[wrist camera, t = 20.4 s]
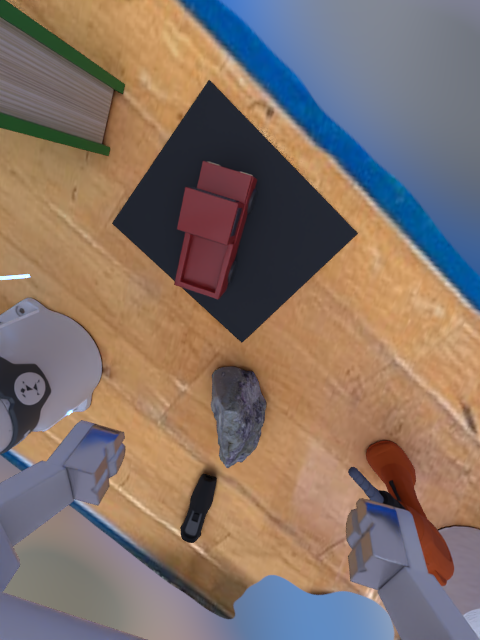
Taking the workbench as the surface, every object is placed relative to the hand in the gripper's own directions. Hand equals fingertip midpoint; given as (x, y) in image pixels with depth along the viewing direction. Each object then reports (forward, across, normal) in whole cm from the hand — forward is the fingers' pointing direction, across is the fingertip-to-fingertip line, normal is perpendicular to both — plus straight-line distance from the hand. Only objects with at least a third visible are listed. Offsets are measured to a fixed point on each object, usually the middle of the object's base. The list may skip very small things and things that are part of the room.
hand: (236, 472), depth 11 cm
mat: (+30, +7, +1) cm, 31 cm away
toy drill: (+25, -18, +24) cm, 39 cm away
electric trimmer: (+22, +4, +45) cm, 50 cm away
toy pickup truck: (+29, +8, +1) cm, 30 cm away
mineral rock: (+25, +1, +24) cm, 35 cm away
